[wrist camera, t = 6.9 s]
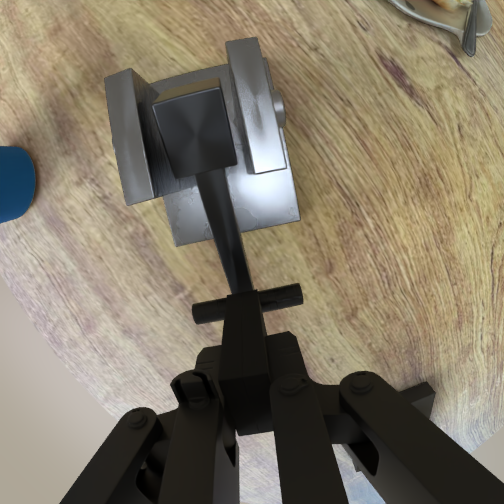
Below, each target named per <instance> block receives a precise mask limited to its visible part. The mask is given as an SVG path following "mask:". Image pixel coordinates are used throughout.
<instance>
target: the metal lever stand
mask: <svg viewBox="0 0 504 504" xmlns="http://www.w3.org/2000/svg"><path fill="white" fill-rule="evenodd" d="M225 45H226V53H227V60H228V64H224V65H220V66H215V67H210V68H206V69H202V70H197V71H193V72H189V73H186V74H182V75H178V76H175V77H171V78H168V79H164V80H161V81H158V82H154V83H151V84H148V83H147V82H146V81H145V80H144V79H143V78H142V77H141V76H140V75H139V74H137V73H136V72H135V71H134V70H133V69H132V68H129V69H126V70H123V71H121V72H118V73H116V74H113V75H111V76H108V77H106V78H104V82H105V90H106V98H107V106H108V113H109V119H110V126H111V132H112V144H113V149H114V152H115V155H116V160H117V165H118V170H119V174H120V179H121V184H122V188H123V193H124V197H125V201H126V205H127V206H130V205H133V204H137V203H140V202H144V201H147V200H151V199H155V198H158V197H161V196H163V200H164V204H165V208H166V212H167V216H168V220H169V224H170V228H171V232H172V236H173V240H174V244H175V247H178V246H182V245H187V244H192V243H196V242H201V241H205V240H210V239H214V238H213V235H212V232H211V229H210V226H209V223H208V220H207V216H206V213H205V210H204V207H203V204H202V200H201V197H200V194H199V191H198V187H197V184H196V181H195V178H194V175H192V176H188V177H184V178H180V179H175V178H174V175H173V172H172V169H171V166H170V163H169V160H168V157H167V154H166V151H165V148H164V145H163V142H162V139H161V135H160V132H159V129H158V126H157V123H156V119H155V116H154V113H153V110H152V103H153V102H154V101H155V100H156V99H157V98H158V97H159V95H160V94H161V93H162V92H163V91H165V90H168V89H172V88H175V87H179V86H183V85H186V84H190V83H194V82H198V81H202V80H207V79H211V78H216V77H219V78H220V81H221V86H222V91H223V95H224V100H225V104H226V109H227V114H228V118H229V123H230V127H231V132H232V137H233V141H234V146H235V152H236V157H237V162H238V164H237V165H235V166H231V167H226V168H225V171H226V175H227V180H228V184H229V188H230V192H231V196H232V200H233V204H234V208H235V212H236V216H237V221H238V225H239V229H240V233H243V232H248V231H253V230H257V229H262V228H267V227H272V226H277V225H282V224H287V223H292V222H297V221H300V220H301V217H300V211H299V206H298V200H297V195H296V190H295V184H294V179H293V174H292V169H291V164H290V159H289V154H288V149H287V144H286V140H285V135H284V130H283V127H284V126H285V125H286V112H285V106H284V102H283V98H282V95H281V93H280V91H279V90H274V87H273V83H272V78H271V74H270V70H269V66H268V62H267V59H266V58H263V57H262V53H261V49H260V46H259V42H258V38H257V37H251V38H245V39H239V40H233V41H227V42H226V43H225Z"/></svg>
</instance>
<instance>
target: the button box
mask: <svg viewBox="0 0 504 504" xmlns="http://www.w3.org/2000/svg"><path fill="white" fill-rule="evenodd" d="M399 393H400V394H401V395H402V396H403V397H404V398H405V399H407V400H408V401H409V402H410V403H411V404H412V405H413V406H415V407H416V408H417V409H418V410H419V411H420V412H421V413H423V414H424V415H425V416H426V417H427V418H428V419H429V418H430V414H431V411H432V407H433V402H434V398H435V394H436V392H435V391H434V390H433V388H432V387H431V386H430V385H429V383H428V382H425V383H422V384H420V385H417V386H415V387H412V388H410V389H407V390H404V391H402V392H399ZM352 461H353V459H352ZM353 464H354V467H355V470H356V472H359V471H361V470H360V469H359V467H358V466H357V465H356V463H355V462H354V461H353Z"/></svg>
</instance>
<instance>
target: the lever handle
mask: <svg viewBox="0 0 504 504" xmlns="http://www.w3.org/2000/svg"><path fill="white" fill-rule="evenodd" d="M152 110H153V113H154V116H155V119H156V123H157V126H158V129H159V132H160V135H161V139H162V142H163V145H164V148H165V151H166V154H167V157H168V160H169V163H170V166H171V169H172V172H173V175H174V178H175V179H180V178H184V177H188V176H192V175H194V178H195V181H196V184H197V187H198V191H199V194H200V197H201V200H202V204H203V207H204V210H205V213H206V216H207V220H208V223H209V226H210V229H211V232H212V235H213V238H214V242H215V245H216V248H217V251H218V254H219V257H220V260H221V263H222V266H223V269H224V272H225V275H226V278H227V281H228V284H229V287H230V290H231V293H232V294H236V293H241V292H246V291H251V290H255V289H254V285H253V281H252V277H251V273H250V269H249V265H248V261H247V257H246V253H245V249H244V245H243V241H242V237H241V233H240V229H239V225H238V221H237V216H236V212H235V208H234V204H233V200H232V196H231V192H230V188H229V184H228V180H227V175H226V171H225V168H226V167H231V166H235V165H237V164H238V162H237V157H236V152H235V146H234V141H233V137H232V132H231V127H230V123H229V118H228V114H227V109H226V104H225V100H224V95H223V91H222V86H221V81H220V78H219V77H216V78H211V79H207V80H202V81H198V82H194V83H190V84H186V85H183V86H179V87H175V88H172V89H168V90H165V91H163V92H162V93H161V94H160V95H159V97H158V98H157V99H156V100H155V101H154V102H153V103H152ZM258 295H259V300H260V304H261V309H262V313H264V312H269V311H273V310H278V309H283V308H288V307H292V306H297V305H301V304H303V294H302V290H301V286H300V284H299V283H295V284H291V285H286V286H281V287H276V288H272V289H267V290H262V291H258ZM226 300H227V298H222V299H216V300H211V301H206V302H200V303H195V304H193V305H192V315H193V319H194V321H195V323H196V324H197V325H199V324H205V323H210V322H216V321H222V320H224V317H225V308H226Z"/></svg>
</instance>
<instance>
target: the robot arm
mask: <svg viewBox="0 0 504 504" xmlns="http://www.w3.org/2000/svg"><path fill="white" fill-rule="evenodd" d="M170 386H171V388H172V390H173V392H174V394H175V396H176V398H177V400H178V403H179V406H178V408H177V409H175V410H172V411H170V412H166V413H163V414H159V415H156V413H155V412H154V411H153V410H152V409H150V408H147V407H139V408H135V409H132V410H130V411H129V412H127V413H126V414H125V415H124V416H123V417H122V418H121V419H120V420H119V422H118V423H117V425H116V426H115V427H114V429H113V430H112V432H111V433H110V434H109V436H108V437H107V438H106V440H105V441H104V443H103V444H102V445H101V446H100V448H99V449H98V451H97V452H96V453H95V455H94V456H93V458H92V459H91V460H90V462H89V463H88V464H87V466H86V467H85V469H84V470H83V471H82V473H81V474H80V476H79V477H78V478H77V480H76V481H75V483H74V484H73V485H72V487H71V488H70V489H69V491H68V492H67V494H66V495H65V496H64V498H63V499H62V501H61V502H60V503H59V504H240V496H239V446H238V443H237V440H236V431H237V433H238V436H244V435H252V434H258V433H265V432H271V431H274V436H275V445H276V453H277V461H278V470H279V478H280V487H281V495H282V504H349V502H348V498H347V495H346V491H345V488H344V485H343V481H342V478H341V474H340V471H339V468H338V464H337V461H336V457H335V454H334V451H333V447H332V444H342V446H343V447H344V449H345V450H346V451H347V453H348V454H349V455H350V457H351V458H352V459H353V461H354V462H355V463H356V465H357V466H358V467H359V469H360V470H361V471H362V473H363V474H364V475H365V477H366V478H367V479H368V480H369V482H370V483H371V484H372V486H373V487H374V488H375V489H376V491H377V492H378V493H379V495H380V496H381V497H382V498H383V500H384V501H385V502H386V503H387V504H504V483H503V482H501V481H500V480H499V479H498V478H497V477H496V476H494V475H493V474H492V473H491V472H490V471H489V470H487V469H486V468H485V467H484V466H483V465H482V464H480V463H479V462H478V461H477V460H475V458H473V457H472V456H471V455H470V454H469V453H468V452H466V451H465V450H464V449H463V448H462V447H461V446H459V445H458V444H457V443H456V442H455V441H454V440H453V439H451V438H450V437H449V436H448V435H447V434H446V433H444V432H443V431H442V430H441V429H440V428H439V427H437V426H436V425H435V424H434V423H433V422H432V421H431V420H429V419H428V418H427V417H426V416H425V415H424V414H423V413H421V412H420V411H419V410H418V409H417V408H416V407H415V406H413V405H412V404H411V403H410V402H409V401H408V400H407V399H405V398H404V397H403V396H402V395H401V394H400V393H399V392H397V391H396V390H395V389H394V388H393V387H392V386H391V385H389V384H388V383H387V382H386V381H385V380H384V379H383V378H381V377H380V376H379V375H377V374H375V373H374V372H369V371H357V372H354V373H351V374H349V375H347V376H346V377H344V378H343V379H342V381H341V382H340V384H339V385H323V384H319V383H316V382H314V381H313V380H312V379H311V378H310V377H309V376H308V373H307V370H306V367H305V364H304V360H303V357H302V354H301V351H300V348H299V345H298V341H297V338H296V336H294V335H293V334H292V333H291V332H289V331H288V332H283V333H278V334H273V335H268V336H267V332H266V327H265V323H264V318H263V314H262V309H261V304H260V300H259V295H258V291H257V289H256V290H251V291H246V292H241V293H236V294H231V295H227V300H226V308H225V317H224V327H223V336H222V345H218V346H212V347H206V348H203V349H202V351H201V352H200V353H199V354H198V356H197V360H196V365H195V369H193V370H189V371H185V372H183V373H181V374H179V375H178V376H176V377H175V378H174V379H173V380H172V382H171V384H170Z"/></svg>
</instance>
